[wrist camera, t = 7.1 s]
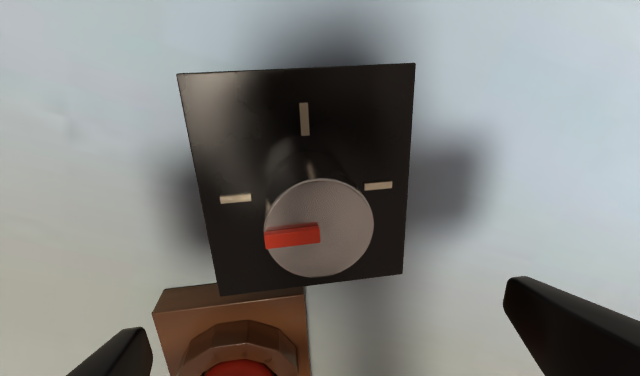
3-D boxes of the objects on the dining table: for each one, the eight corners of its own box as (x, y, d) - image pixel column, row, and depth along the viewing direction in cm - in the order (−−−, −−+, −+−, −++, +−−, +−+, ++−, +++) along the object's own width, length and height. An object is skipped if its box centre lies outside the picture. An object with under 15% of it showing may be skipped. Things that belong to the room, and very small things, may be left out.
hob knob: (348, 146, 14) (377, 175, 10) (350, 224, 16) (376, 275, 12) (261, 154, 14) (255, 188, 10) (271, 233, 15) (270, 290, 11)
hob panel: (380, 238, 21) (403, 276, 17) (229, 255, 20) (219, 299, 16) (385, 64, 17) (417, 62, 13) (198, 73, 16) (174, 73, 12)
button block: (309, 377, 25) (315, 431, 21) (192, 395, 24) (177, 456, 20) (301, 272, 21) (307, 315, 17) (163, 289, 20) (138, 338, 16)
